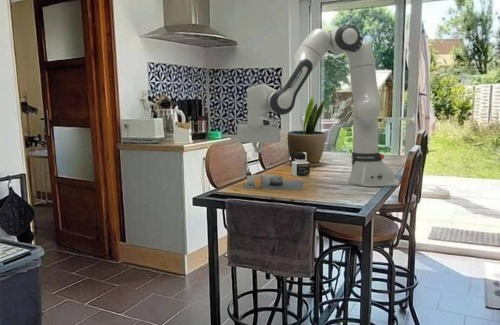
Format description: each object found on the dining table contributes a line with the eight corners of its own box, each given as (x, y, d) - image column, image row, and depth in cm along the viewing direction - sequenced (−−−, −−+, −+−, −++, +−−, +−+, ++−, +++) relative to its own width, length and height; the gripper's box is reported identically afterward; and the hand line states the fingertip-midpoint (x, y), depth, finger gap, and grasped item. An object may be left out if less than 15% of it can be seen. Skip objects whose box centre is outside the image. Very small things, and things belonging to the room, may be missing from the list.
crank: (282, 182, 195) (282, 171, 194) (282, 185, 189) (282, 173, 188) (246, 182, 196) (246, 171, 195) (245, 185, 190) (245, 173, 189)
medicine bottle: (296, 177, 213) (296, 153, 211) (291, 175, 220) (291, 151, 218) (309, 176, 215) (310, 152, 213) (304, 174, 221) (304, 151, 220)
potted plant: (327, 168, 237) (328, 95, 231) (288, 168, 238) (288, 96, 232) (322, 162, 258) (322, 95, 252) (286, 162, 259) (286, 96, 252)
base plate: (303, 182, 200) (303, 169, 199) (302, 192, 181) (302, 178, 180) (248, 181, 204) (248, 169, 203) (241, 191, 185) (241, 177, 184)
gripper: (233, 121, 189) (234, 152, 191) (275, 121, 179) (276, 154, 181) (240, 120, 194) (241, 150, 196) (281, 120, 184) (282, 152, 186)
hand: (258, 152), depth 188 cm, fingers closed
